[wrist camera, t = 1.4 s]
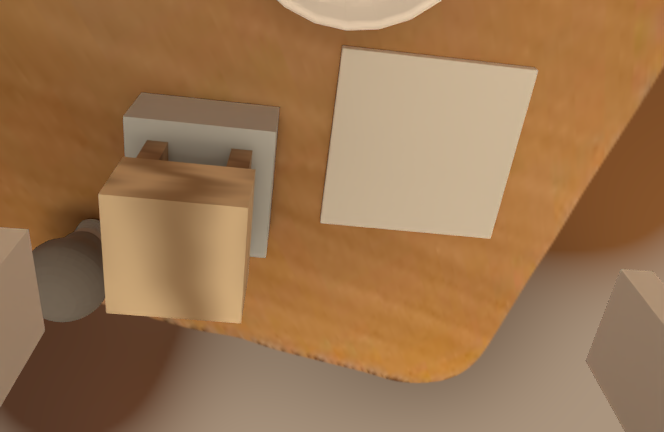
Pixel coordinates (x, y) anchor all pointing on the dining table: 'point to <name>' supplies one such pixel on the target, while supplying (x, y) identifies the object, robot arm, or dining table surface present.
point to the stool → (177, 236)
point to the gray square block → (211, 141)
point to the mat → (422, 141)
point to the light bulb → (71, 273)
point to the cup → (358, 12)
